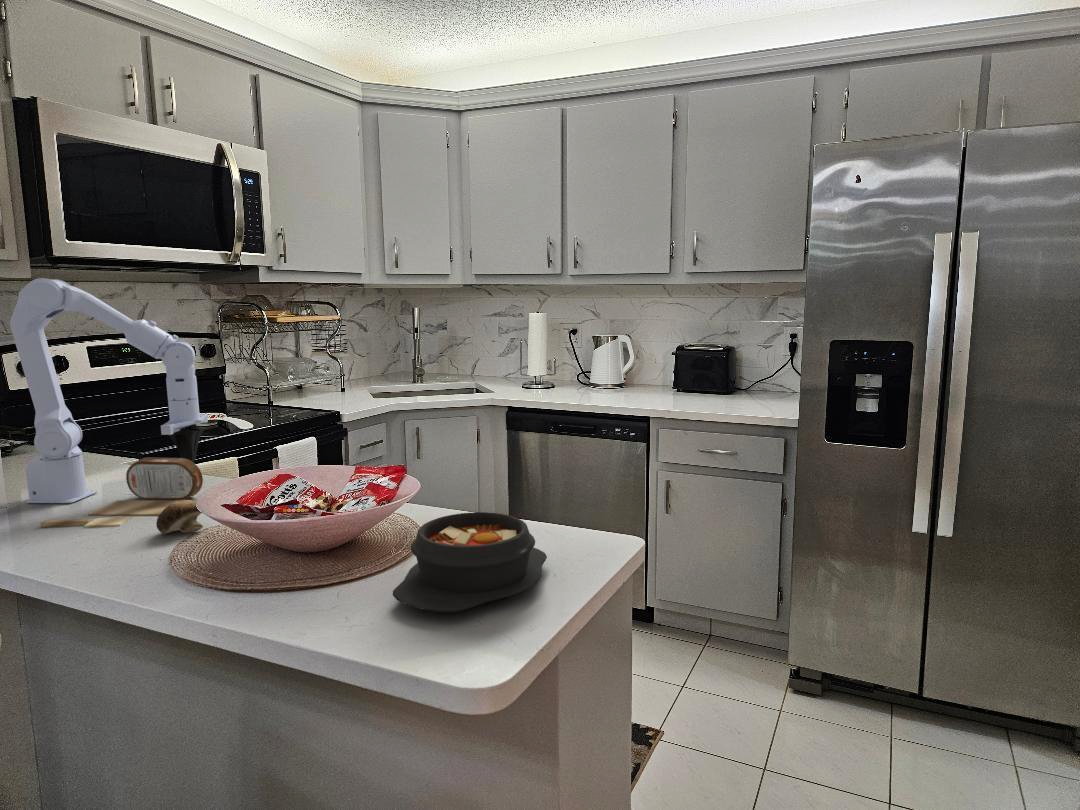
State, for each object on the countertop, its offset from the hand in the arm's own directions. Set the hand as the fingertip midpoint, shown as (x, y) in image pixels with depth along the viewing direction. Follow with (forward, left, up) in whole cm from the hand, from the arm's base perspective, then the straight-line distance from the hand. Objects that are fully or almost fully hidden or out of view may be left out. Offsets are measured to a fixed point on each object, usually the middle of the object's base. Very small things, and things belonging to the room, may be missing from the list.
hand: (188, 461), depth 152 cm
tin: (0, -9, -6) cm, 11 cm away
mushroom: (+15, -29, -6) cm, 34 cm away
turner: (-5, -25, -5) cm, 27 cm away
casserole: (+69, -51, -6) cm, 86 cm away
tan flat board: (0, -16, -5) cm, 17 cm away
